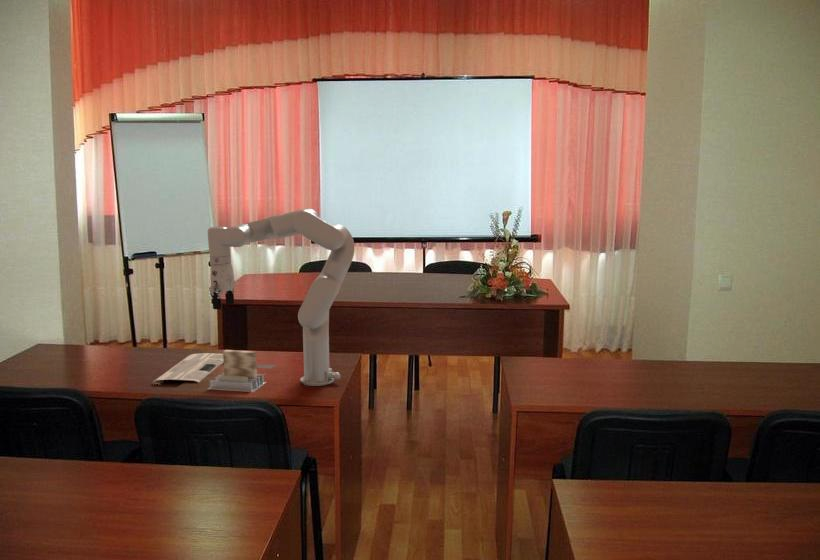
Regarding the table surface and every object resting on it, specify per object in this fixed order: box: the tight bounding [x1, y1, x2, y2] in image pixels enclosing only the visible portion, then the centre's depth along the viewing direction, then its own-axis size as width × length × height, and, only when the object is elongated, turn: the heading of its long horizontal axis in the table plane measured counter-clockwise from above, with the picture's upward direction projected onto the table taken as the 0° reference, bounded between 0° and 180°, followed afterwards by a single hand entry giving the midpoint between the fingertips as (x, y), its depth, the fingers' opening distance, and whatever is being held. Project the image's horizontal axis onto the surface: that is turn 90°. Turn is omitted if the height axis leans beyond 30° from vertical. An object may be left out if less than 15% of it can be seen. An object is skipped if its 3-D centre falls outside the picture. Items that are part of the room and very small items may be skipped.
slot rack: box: [207, 371, 268, 393], centre depth 274 cm, size 18×12×4 cm, turn 78°
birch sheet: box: [222, 349, 258, 377], centre depth 276 cm, size 12×2×12 cm, turn 78°
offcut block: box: [219, 374, 248, 382], centre depth 271 cm, size 10×3×4 cm, turn 78°
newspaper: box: [152, 352, 224, 386], centre depth 297 cm, size 37×19×3 cm, turn 176°
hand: (223, 306), depth 278 cm, fingers open, 9 cm apart
